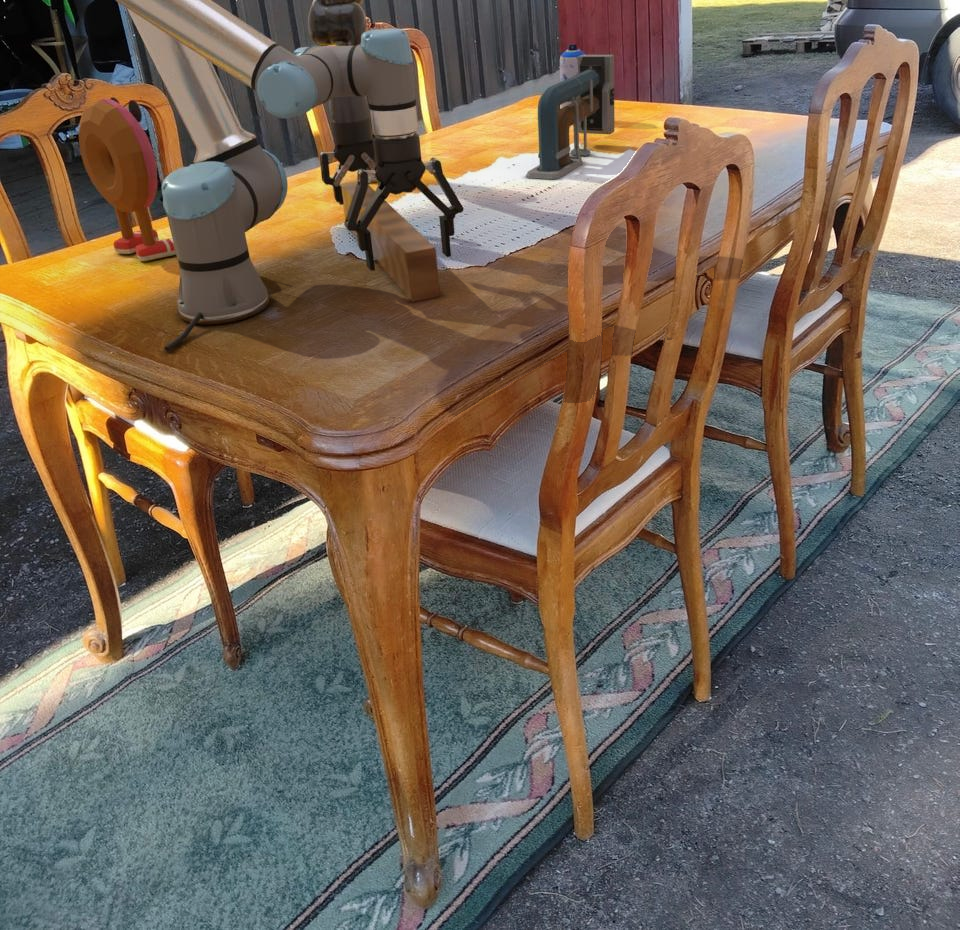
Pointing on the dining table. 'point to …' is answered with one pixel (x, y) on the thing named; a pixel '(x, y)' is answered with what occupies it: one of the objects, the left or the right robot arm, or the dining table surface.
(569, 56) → the aerosol can
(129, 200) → the toy
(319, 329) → the dining table surface
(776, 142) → the dining table surface
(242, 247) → the left robot arm
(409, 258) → the beam
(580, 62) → the clamp
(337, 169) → the right robot arm
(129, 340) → the dining table surface
